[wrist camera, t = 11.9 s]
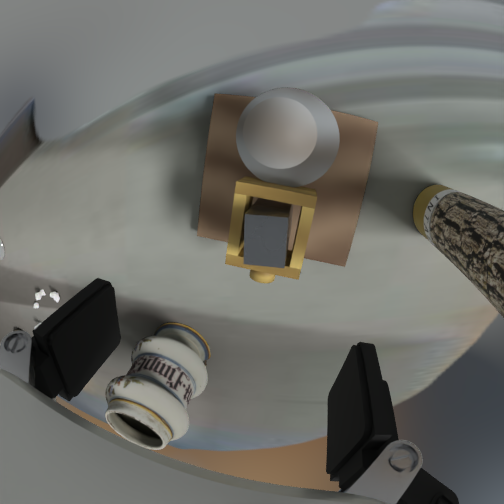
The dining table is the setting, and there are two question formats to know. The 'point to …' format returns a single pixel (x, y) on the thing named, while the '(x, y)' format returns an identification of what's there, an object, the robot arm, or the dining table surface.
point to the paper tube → (465, 236)
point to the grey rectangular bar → (267, 233)
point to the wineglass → (2, 250)
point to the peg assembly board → (285, 174)
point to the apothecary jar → (159, 386)
